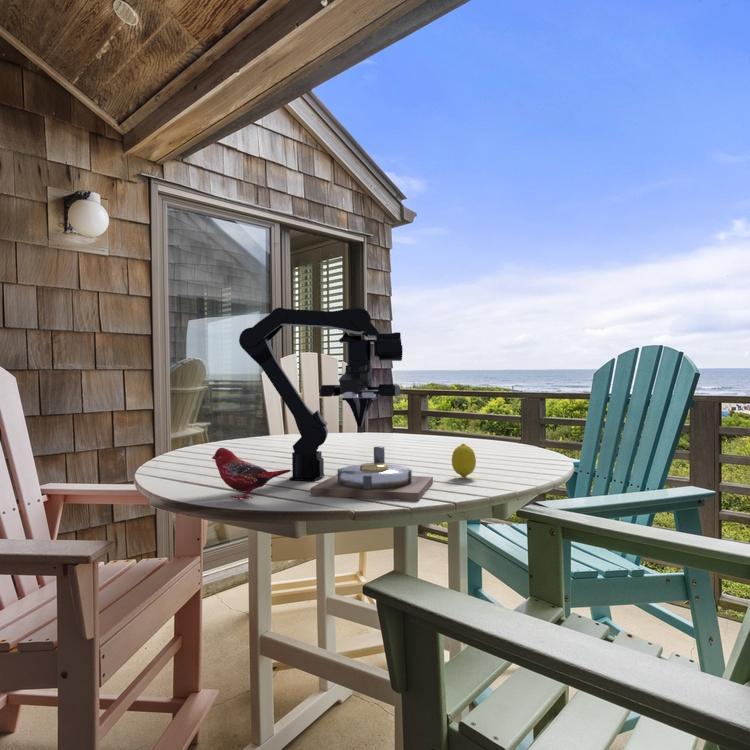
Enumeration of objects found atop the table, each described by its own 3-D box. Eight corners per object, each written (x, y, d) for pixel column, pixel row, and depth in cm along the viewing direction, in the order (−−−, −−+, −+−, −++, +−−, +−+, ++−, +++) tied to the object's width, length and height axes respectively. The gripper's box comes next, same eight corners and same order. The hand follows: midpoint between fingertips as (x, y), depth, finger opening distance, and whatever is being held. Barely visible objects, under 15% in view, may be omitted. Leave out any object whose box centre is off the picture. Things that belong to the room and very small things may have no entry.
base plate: (310, 495, 102) (310, 488, 102) (339, 479, 118) (338, 473, 118) (418, 500, 96) (418, 493, 96) (432, 483, 112) (432, 476, 113)
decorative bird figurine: (216, 495, 103) (215, 446, 103) (295, 501, 97) (294, 448, 98) (207, 499, 100) (206, 448, 100) (288, 504, 95) (287, 450, 95)
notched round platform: (407, 490, 98) (406, 456, 98) (328, 488, 101) (328, 455, 101) (415, 475, 114) (414, 446, 114) (347, 474, 116) (346, 445, 116)
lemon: (474, 475, 121) (474, 442, 121) (477, 480, 116) (476, 445, 116) (451, 475, 122) (450, 442, 122) (452, 480, 116) (452, 445, 116)
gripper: (309, 361, 116) (310, 429, 116) (388, 359, 111) (389, 430, 111) (327, 362, 127) (328, 425, 127) (400, 361, 122) (401, 426, 122)
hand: (360, 426), depth 121 cm, fingers closed
